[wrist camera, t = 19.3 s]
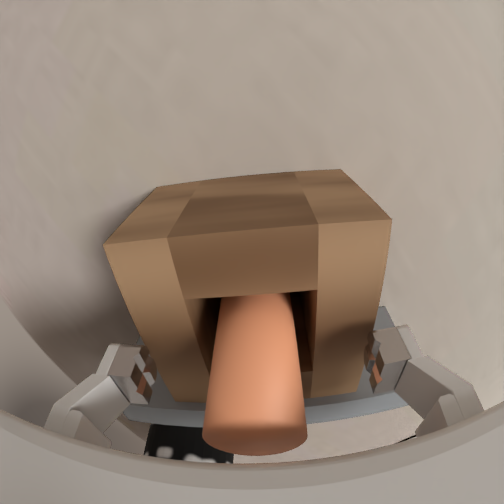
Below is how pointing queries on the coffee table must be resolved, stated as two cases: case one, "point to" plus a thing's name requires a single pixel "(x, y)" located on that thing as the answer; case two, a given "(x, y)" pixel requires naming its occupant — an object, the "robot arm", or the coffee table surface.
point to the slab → (316, 408)
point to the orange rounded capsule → (255, 378)
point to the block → (254, 270)
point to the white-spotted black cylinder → (182, 445)
